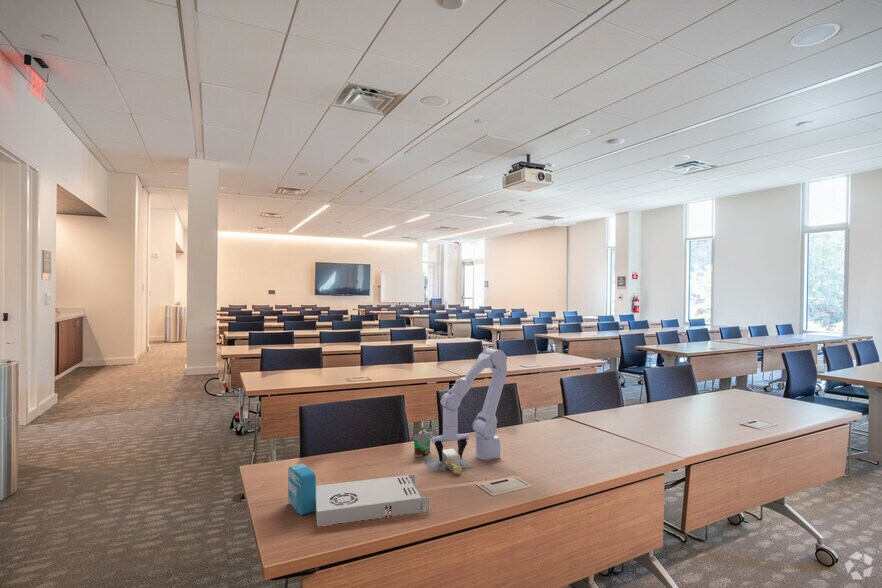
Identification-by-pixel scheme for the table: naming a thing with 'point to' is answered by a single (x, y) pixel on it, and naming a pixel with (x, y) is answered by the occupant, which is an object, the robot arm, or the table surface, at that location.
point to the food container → (422, 442)
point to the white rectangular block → (451, 456)
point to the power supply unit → (368, 499)
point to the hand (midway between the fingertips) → (450, 459)
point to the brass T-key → (452, 466)
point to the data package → (302, 488)
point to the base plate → (441, 464)
